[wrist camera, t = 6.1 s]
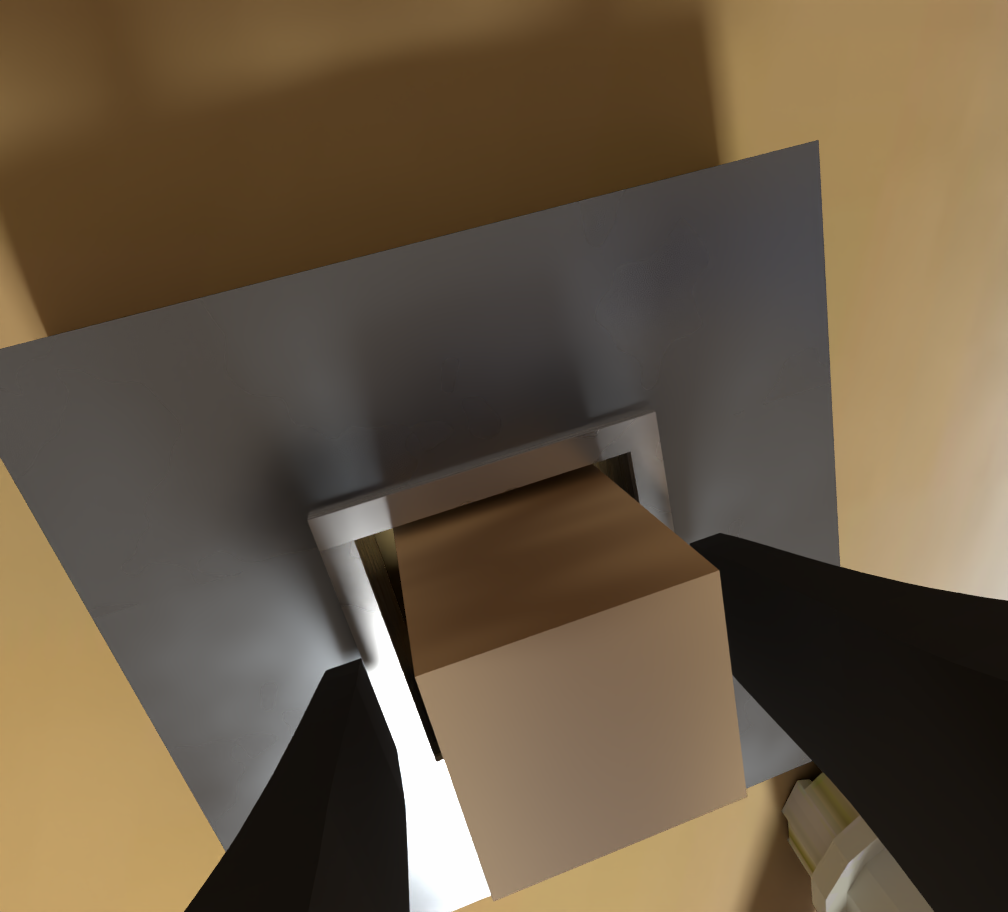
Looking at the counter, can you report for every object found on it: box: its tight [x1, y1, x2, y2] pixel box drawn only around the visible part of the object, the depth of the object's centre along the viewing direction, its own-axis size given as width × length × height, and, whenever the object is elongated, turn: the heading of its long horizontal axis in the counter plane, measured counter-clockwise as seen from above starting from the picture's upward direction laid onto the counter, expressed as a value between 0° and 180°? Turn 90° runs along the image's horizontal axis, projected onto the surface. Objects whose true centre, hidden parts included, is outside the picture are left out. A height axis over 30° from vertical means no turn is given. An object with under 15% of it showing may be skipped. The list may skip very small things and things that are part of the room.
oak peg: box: [393, 464, 747, 901], centre depth 11 cm, size 4×4×7 cm
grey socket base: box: [0, 140, 840, 912], centre depth 13 cm, size 14×14×3 cm
